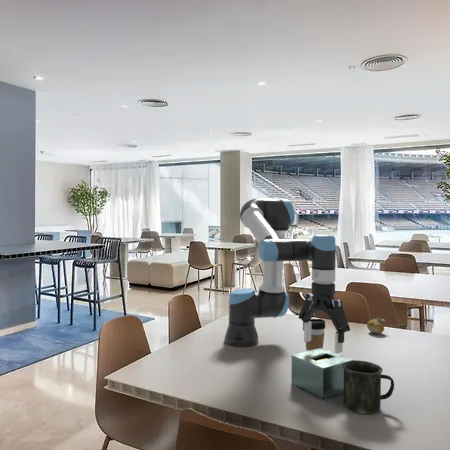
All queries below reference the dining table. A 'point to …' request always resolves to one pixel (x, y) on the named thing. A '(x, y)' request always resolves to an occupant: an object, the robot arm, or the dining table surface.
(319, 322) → the coffee cup
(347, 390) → the mug
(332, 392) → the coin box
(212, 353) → the dining table surface
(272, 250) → the robot arm
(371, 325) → the onion
